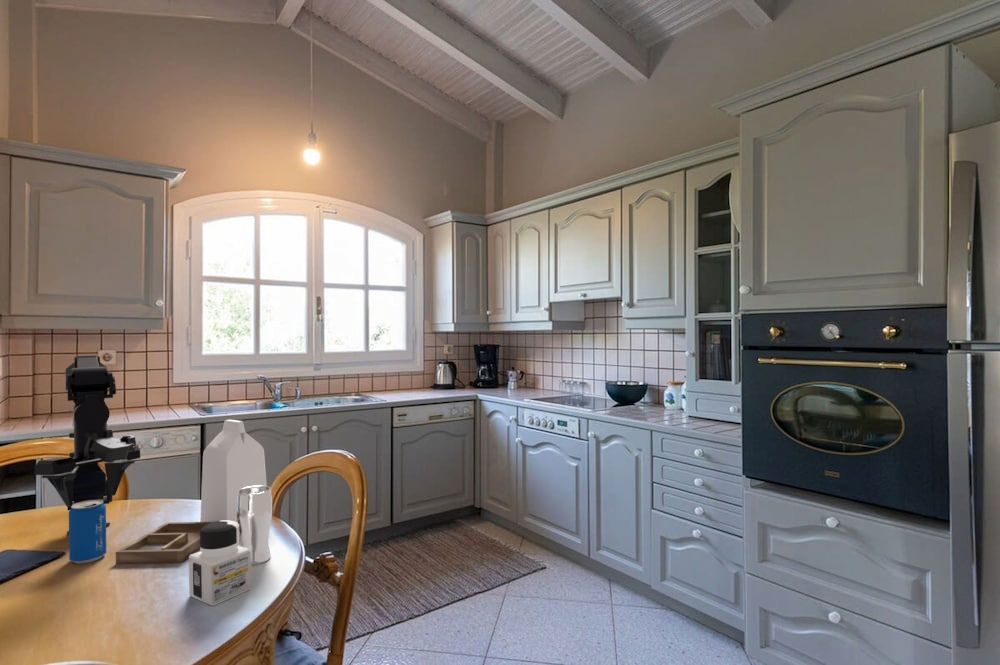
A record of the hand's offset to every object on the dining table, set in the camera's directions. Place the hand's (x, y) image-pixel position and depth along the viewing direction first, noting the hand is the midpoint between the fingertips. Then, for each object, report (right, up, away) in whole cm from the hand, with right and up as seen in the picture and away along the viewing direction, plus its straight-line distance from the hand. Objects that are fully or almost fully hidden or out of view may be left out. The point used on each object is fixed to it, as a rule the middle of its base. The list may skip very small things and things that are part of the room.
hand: (91, 500), depth 116 cm
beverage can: (-3, -14, +3) cm, 15 cm away
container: (+34, -13, -13) cm, 39 cm away
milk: (+18, -14, +26) cm, 34 cm away
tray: (+12, -13, +9) cm, 20 cm away
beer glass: (+34, -13, +2) cm, 36 cm away
